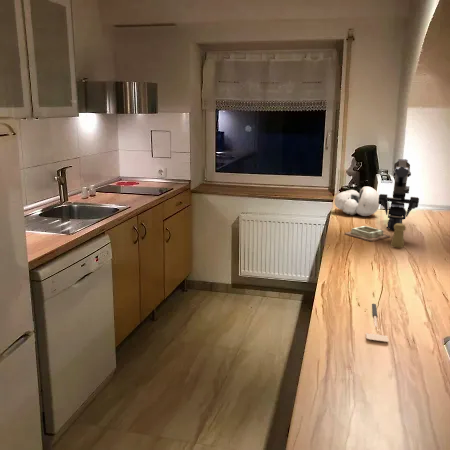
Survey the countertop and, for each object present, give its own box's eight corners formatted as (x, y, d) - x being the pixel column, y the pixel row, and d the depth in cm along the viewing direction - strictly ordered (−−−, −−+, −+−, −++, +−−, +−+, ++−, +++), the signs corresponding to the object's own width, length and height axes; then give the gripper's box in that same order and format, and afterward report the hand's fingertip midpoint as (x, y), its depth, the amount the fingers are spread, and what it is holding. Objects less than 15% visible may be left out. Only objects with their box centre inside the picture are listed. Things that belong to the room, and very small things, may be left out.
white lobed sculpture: (341, 196, 321) (350, 170, 305) (377, 215, 313) (388, 189, 297) (326, 214, 309) (335, 188, 293) (363, 234, 301) (375, 208, 285)
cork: (388, 244, 244) (391, 222, 242) (400, 244, 245) (403, 222, 242) (393, 247, 239) (396, 225, 236) (405, 247, 239) (408, 225, 236)
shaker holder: (363, 230, 269) (364, 224, 268) (389, 237, 257) (390, 230, 256) (344, 234, 259) (345, 228, 258) (370, 241, 247) (371, 235, 246)
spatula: (365, 343, 144) (366, 338, 144) (364, 304, 172) (364, 300, 172) (388, 346, 143) (388, 341, 142) (383, 306, 171) (383, 302, 170)
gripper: (381, 178, 249) (377, 204, 242) (421, 181, 243) (418, 208, 236) (380, 190, 258) (376, 216, 251) (418, 193, 252) (416, 220, 246)
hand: (396, 215), depth 246 cm, fingers open, 9 cm apart
